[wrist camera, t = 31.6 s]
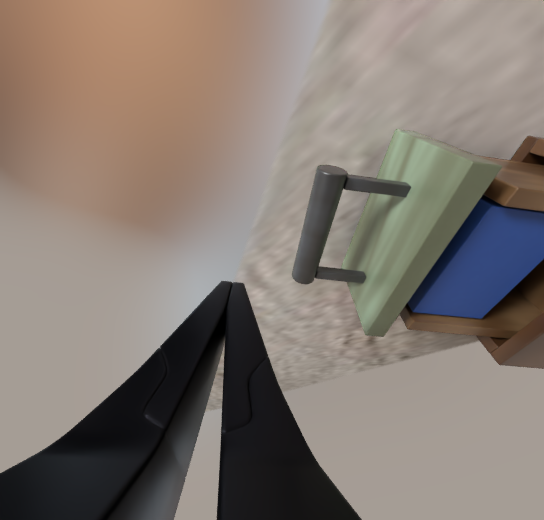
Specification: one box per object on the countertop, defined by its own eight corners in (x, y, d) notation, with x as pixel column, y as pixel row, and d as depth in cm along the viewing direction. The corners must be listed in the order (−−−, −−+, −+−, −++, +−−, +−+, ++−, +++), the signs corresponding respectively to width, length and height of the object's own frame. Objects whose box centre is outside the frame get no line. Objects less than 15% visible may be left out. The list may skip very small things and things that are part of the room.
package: (430, 169, 14) (491, 205, 10) (501, 179, 14) (587, 218, 10) (382, 261, 18) (412, 312, 14) (438, 267, 19) (481, 319, 15)
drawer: (285, 260, 20) (289, 329, 14) (315, 116, 13) (341, 142, 8) (489, 282, 21) (563, 353, 16) (603, 160, 15) (794, 208, 9)
